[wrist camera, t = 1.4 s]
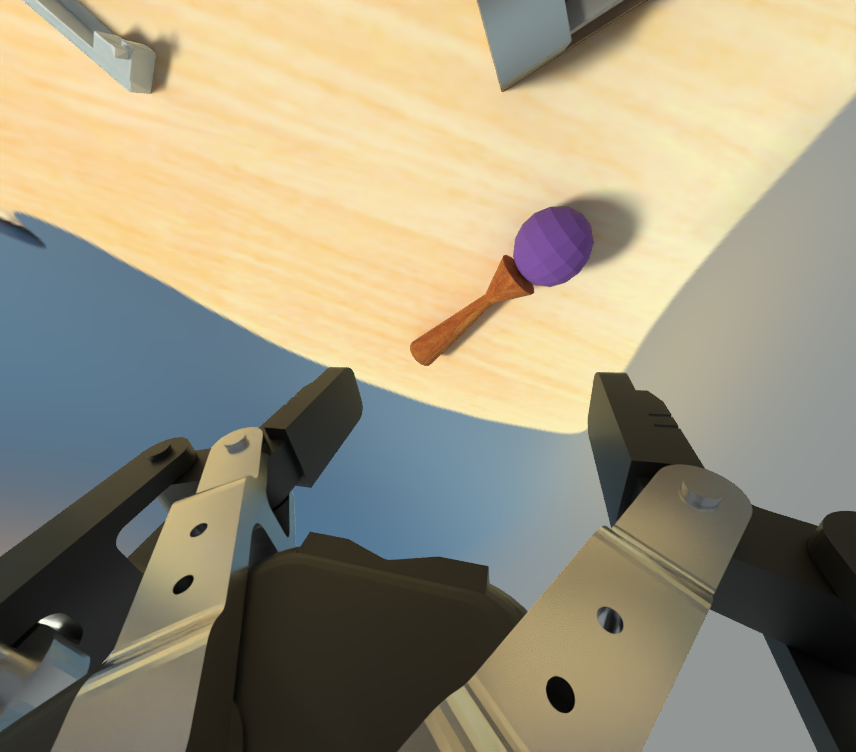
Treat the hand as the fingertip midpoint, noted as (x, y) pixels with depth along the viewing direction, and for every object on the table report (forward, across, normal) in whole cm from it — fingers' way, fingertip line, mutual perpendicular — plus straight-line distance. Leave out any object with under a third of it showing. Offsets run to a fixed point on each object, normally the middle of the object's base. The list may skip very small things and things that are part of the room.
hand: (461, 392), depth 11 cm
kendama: (+24, +2, +3) cm, 24 cm away
